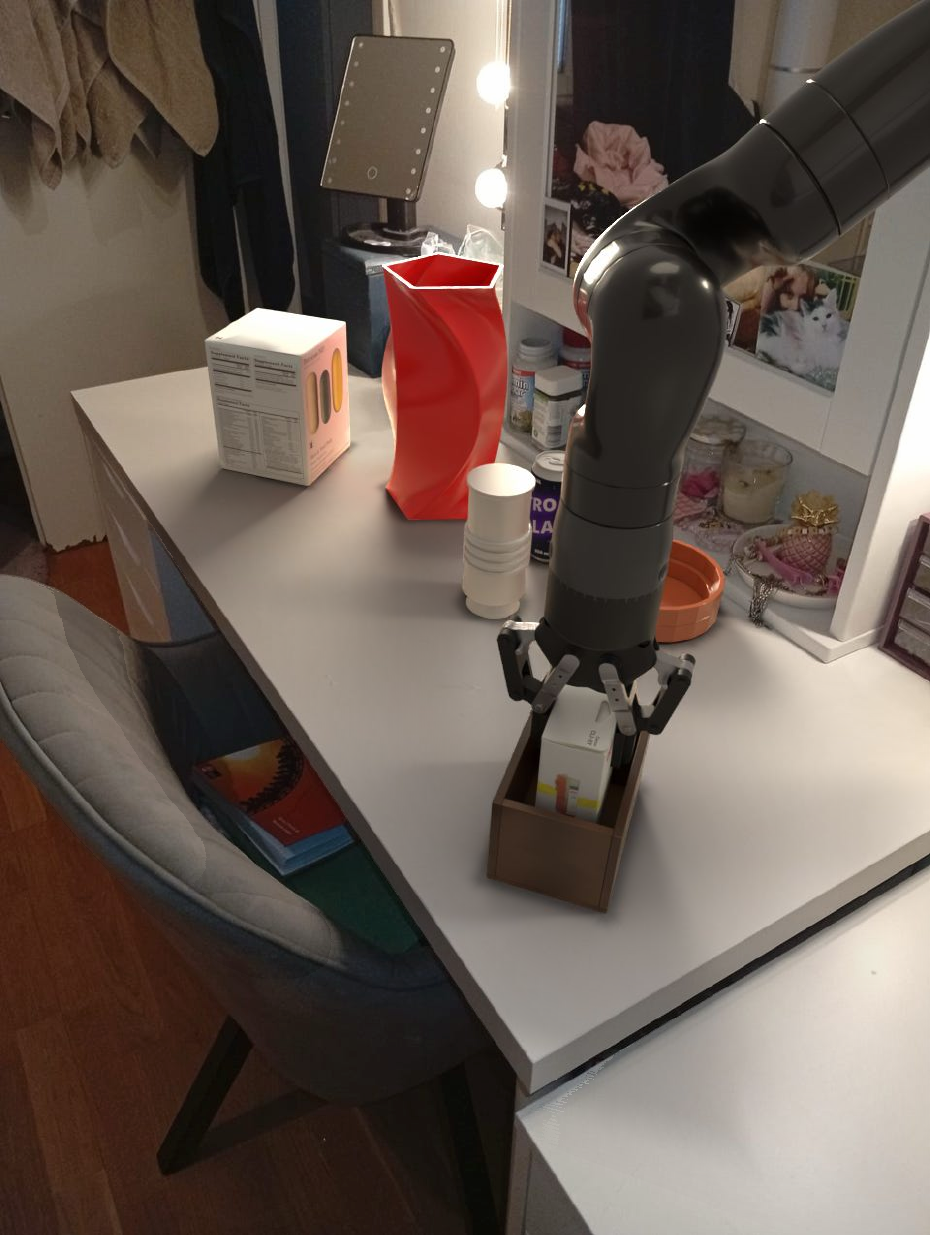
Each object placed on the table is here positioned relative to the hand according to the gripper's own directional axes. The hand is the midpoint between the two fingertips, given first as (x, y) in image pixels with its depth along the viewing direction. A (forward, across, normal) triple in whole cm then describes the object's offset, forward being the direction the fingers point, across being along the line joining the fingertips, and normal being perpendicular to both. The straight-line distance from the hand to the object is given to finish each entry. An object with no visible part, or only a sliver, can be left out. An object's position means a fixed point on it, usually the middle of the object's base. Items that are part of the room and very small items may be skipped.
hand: (580, 750), depth 70 cm
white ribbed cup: (+9, +15, -28) cm, 33 cm away
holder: (+9, 0, 0) cm, 9 cm away
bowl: (+9, -1, -34) cm, 35 cm away
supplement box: (+9, +51, -50) cm, 72 cm away
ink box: (+8, 0, 0) cm, 8 cm away
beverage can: (+9, +12, -40) cm, 43 cm away
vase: (+9, +29, -48) cm, 57 cm away
